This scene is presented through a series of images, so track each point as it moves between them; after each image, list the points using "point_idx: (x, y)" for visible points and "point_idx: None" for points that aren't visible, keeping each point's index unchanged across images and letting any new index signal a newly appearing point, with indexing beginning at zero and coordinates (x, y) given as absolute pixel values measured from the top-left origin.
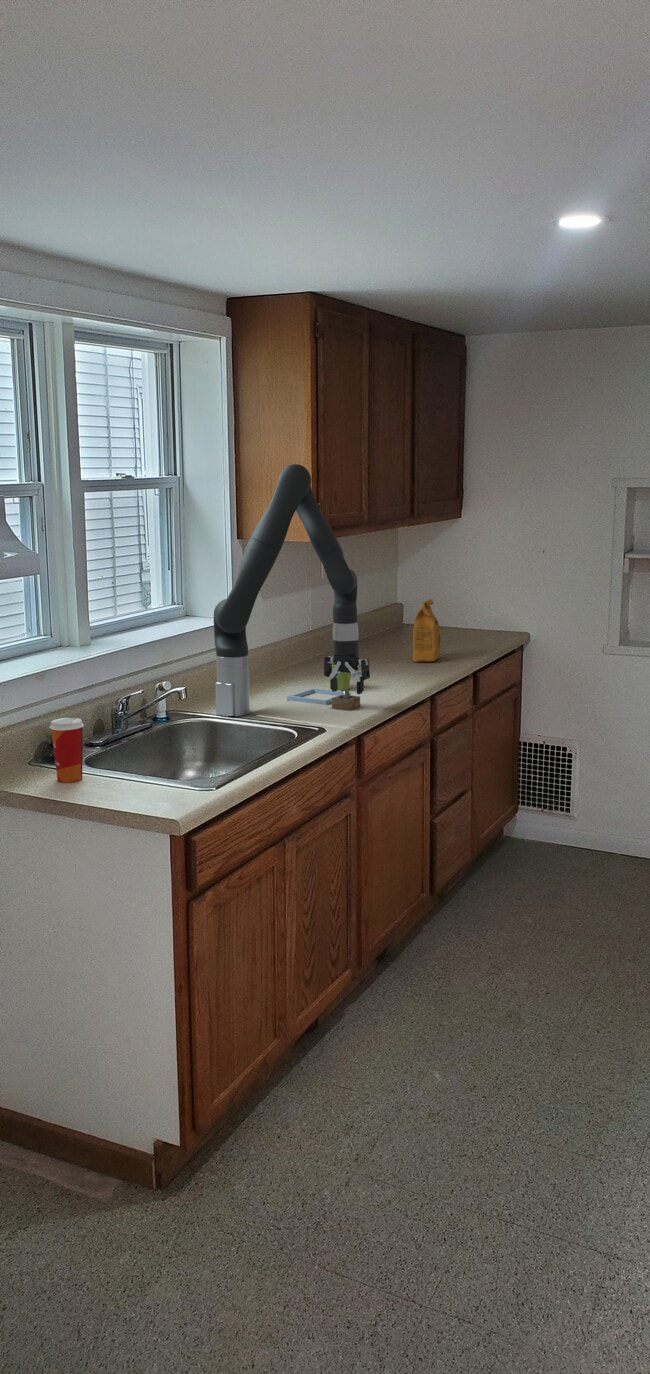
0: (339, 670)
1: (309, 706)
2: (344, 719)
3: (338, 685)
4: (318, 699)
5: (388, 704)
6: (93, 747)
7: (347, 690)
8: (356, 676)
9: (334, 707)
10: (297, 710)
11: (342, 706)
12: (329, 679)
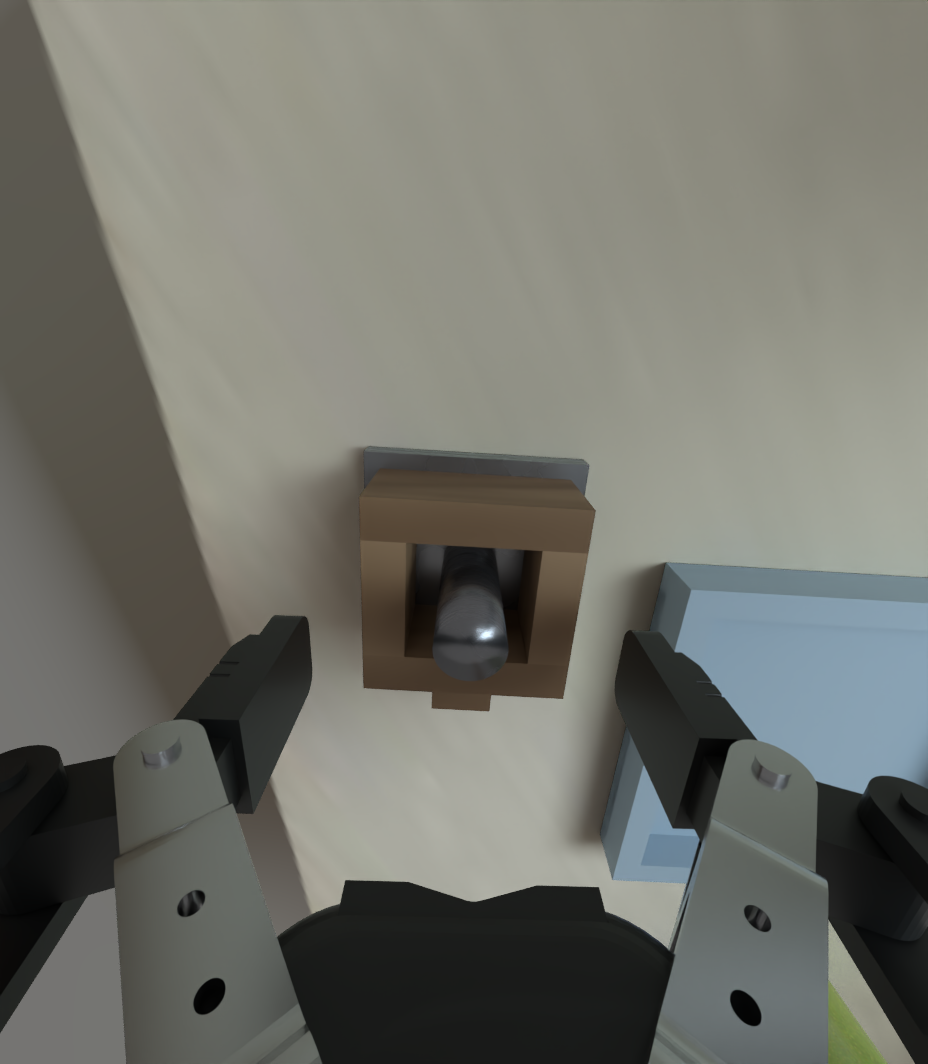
0: (635, 934)
1: (819, 541)
2: (274, 182)
3: None
4: (780, 610)
5: (297, 800)
6: None
7: (456, 663)
8: (175, 803)
9: (545, 481)
10: (892, 348)
11: (455, 481)
12: (866, 1040)
